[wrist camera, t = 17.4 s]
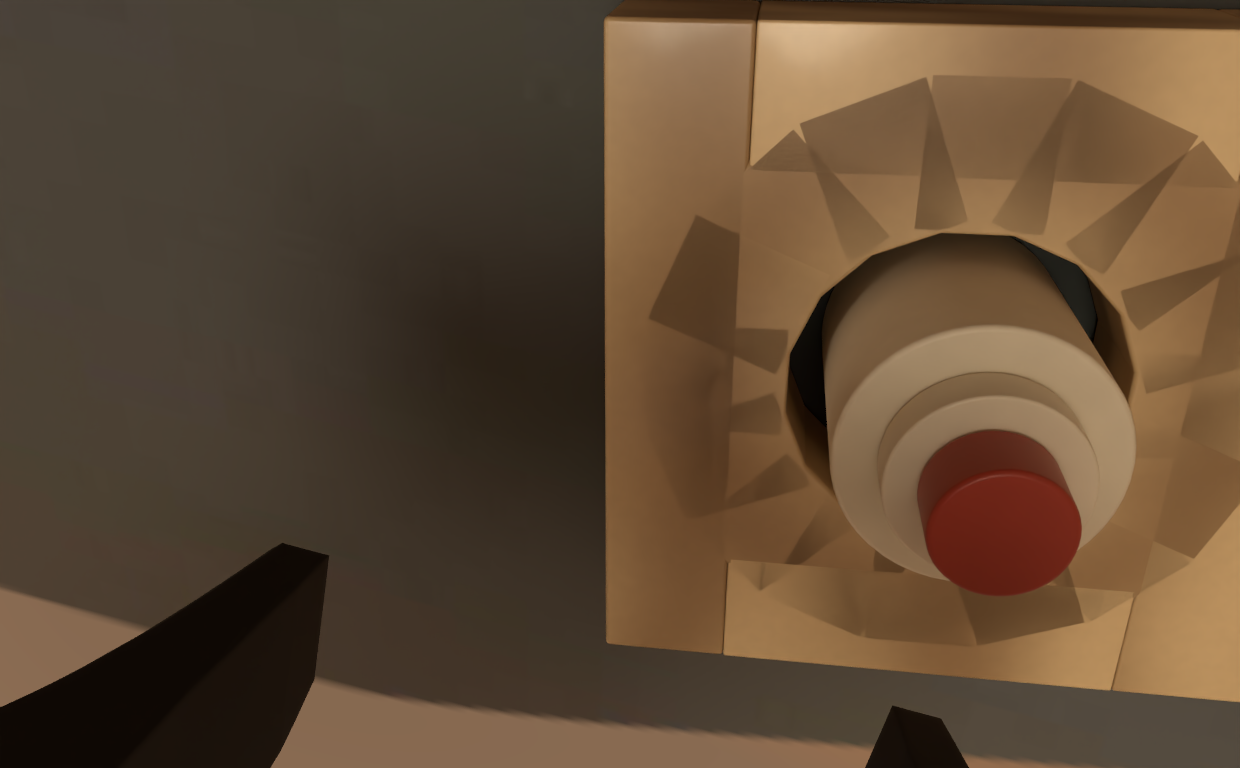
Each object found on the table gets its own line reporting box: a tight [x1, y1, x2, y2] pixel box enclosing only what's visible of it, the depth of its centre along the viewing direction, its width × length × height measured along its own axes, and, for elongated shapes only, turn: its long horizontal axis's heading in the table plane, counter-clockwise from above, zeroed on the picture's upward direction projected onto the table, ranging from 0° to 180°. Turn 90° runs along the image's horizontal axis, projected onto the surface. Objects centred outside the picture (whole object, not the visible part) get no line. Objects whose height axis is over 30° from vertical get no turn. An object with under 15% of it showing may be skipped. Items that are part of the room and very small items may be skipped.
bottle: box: [822, 233, 1137, 597], centre depth 18 cm, size 4×4×7 cm
